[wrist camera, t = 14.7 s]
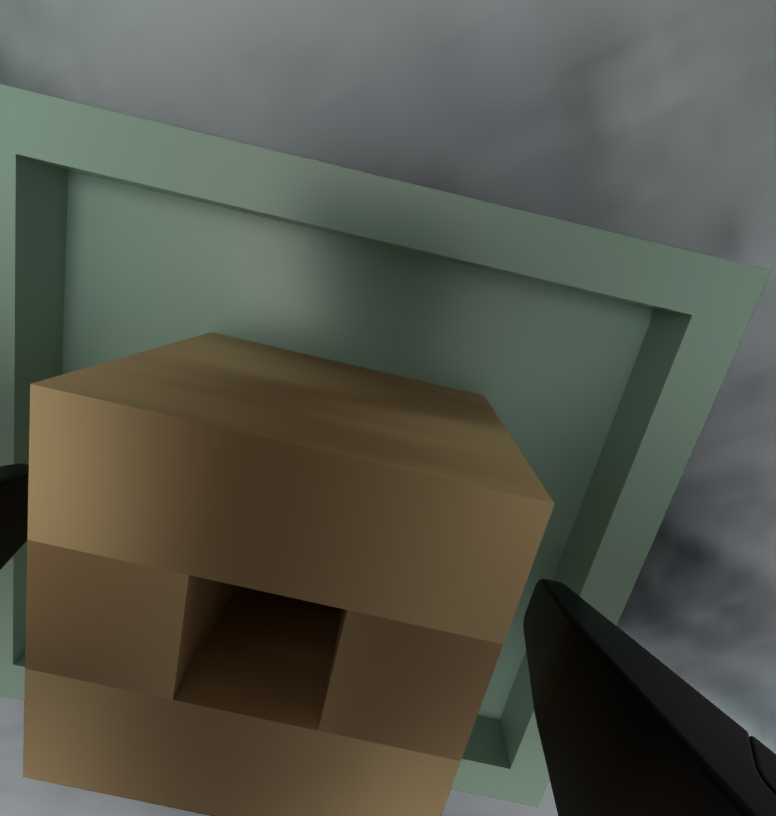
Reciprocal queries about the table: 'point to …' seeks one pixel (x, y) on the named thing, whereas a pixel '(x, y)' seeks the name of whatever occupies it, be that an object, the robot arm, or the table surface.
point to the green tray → (372, 332)
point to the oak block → (266, 580)
